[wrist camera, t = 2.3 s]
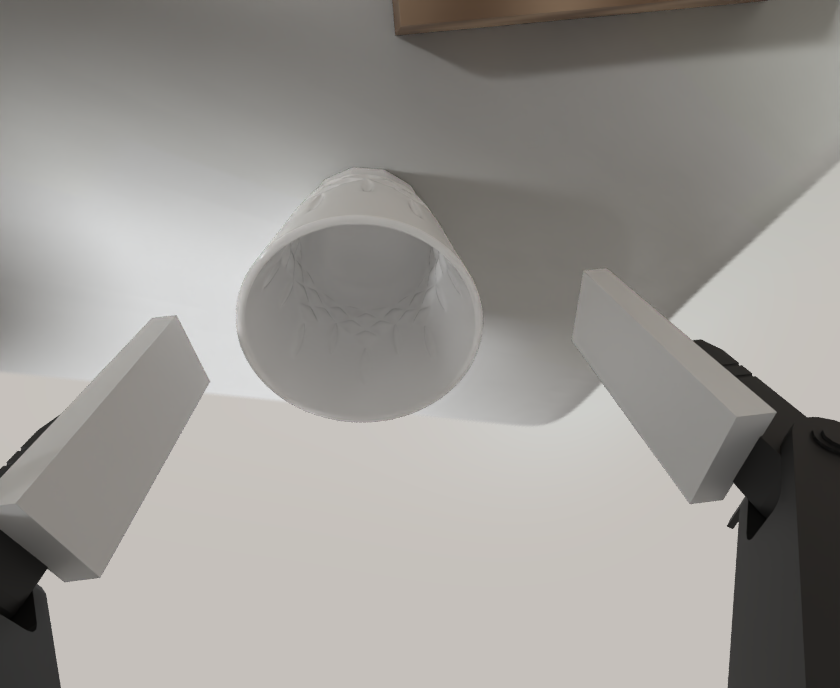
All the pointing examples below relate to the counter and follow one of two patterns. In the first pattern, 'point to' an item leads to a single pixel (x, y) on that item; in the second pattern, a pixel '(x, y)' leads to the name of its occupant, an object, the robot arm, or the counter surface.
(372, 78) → the counter surface
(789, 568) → the robot arm
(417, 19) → the walnut riser
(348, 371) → the white cup
